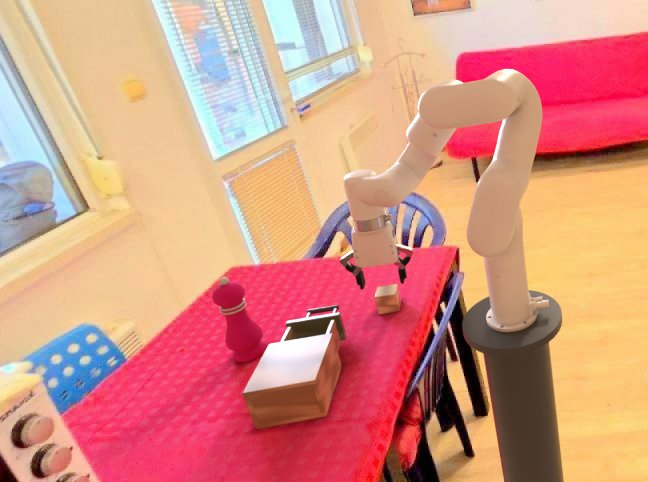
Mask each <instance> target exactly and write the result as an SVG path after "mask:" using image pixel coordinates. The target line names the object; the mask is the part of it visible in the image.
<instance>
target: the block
mask: <svg viewBox="0 0 648 482" xmlns="http://www.w3.org/2000/svg"><path fill="white" fill-rule="evenodd" d="M374 301H375V305H376V309H377V314H378V315H383V314H388V313H389V314H390V313H395V312H396V313H397V312H400V309H401V303H402V297H401V293H400V289H399V284H398V283H394V284H388V285H381V286H377V287H376V291H375V294H374Z"/></svg>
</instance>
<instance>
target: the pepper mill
mask: <svg viewBox="0 0 648 482" xmlns="http://www.w3.org/2000/svg"><path fill="white" fill-rule="evenodd" d="M218 283H219V284H218V285H217V286H216V287H215V288H214V289H213V290H212V295H211V297H212V301H213V303H214V304H215V305H217V306H218V309H219V311H220V313H221V315H223V316H224V318H225V321H226V330H225V336H224V337H225V339H224V341H225V345H226V347H227V349H228V350H230V351H232V355H233V358H234V361H235V362H238V363H248V362H250V361H253V360H255V359H257V358H259V357H261V355H263V354H264V352H265V351H266V345H265V342H264V341H263V340H262V339H263V335H264V333H263V330H262V327H261V325H259V324H258V323H257V322H256V321H255V320H254V319H253V318H252V317H250V315H249V314H248V310H247V308H246V307H247V302H246V298H244V297H245V295H246V291H245V288H244V286H243V284H241V283H240V282H238V281H234V280H230V279H229V278H228V277H226V276H223V277H221V278H219V281H218Z"/></svg>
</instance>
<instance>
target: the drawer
mask: <svg viewBox="0 0 648 482" xmlns="http://www.w3.org/2000/svg"><path fill="white" fill-rule="evenodd" d="M339 310H340V304H334V305H328V306H323V307H316V308H309V309H307V310H306V313H307V314H306V315H305V317H302V318H296V319H289V320H286V321H285V327H286V330H285V331H284V333H283V335H282V337H281V339H280V341H279V342H283V341H289V340H295V339H301V338H307V337H312V336H318V335H324V334H330V333H333V337H334V340H335V344H336V347H337V350H338V351H340V347H341V344H342V341H346V340H347V337H348V336H347V333H346V329H345V325H344V321H343V318H342V314H341V311H339ZM328 312H331V313H328ZM322 313H326V314H322ZM316 314H319V315H316ZM312 315H313V316H312Z"/></svg>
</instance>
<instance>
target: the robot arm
mask: <svg viewBox="0 0 648 482" xmlns="http://www.w3.org/2000/svg"><path fill="white" fill-rule="evenodd" d="M501 121H502V122H501ZM498 122H501V125H500V127H499V128H500V129H499V132H498V135H497V141H496V146H495V150H494V152H493V153H494V154H493V158H492V160H491V162H490V163H489V165H488V166H487V168H486V169H485V170H484V172H483V173H482V174H481V176H480V177H479V178H478V180H477V181H478V182H477V183H476V187H475V190H474V194H473V198H472V203H471V207H470V208H471V209H470V212H469V216H468V221H467V226H466V240H467V244H468V246H469V247H470V249H471V250H472V251H473V252H474V253H475V254H476V255H478V256H480V257H483V263H484V271H485V278H486V282H487V289H488V297H490V304H491V309H490V310H489V311H488V312H487V315H486V321H487V324H488V325H489V327H491V328H492V329H494V330H496V331H500V332H515V331H519V330H522V329H525V328H527V327H529V326H530V325H531V324H533V323H534V321H535V320H536V319H537V309H545V308H550V306H549V300H544V301H543V298H542V297H537V298H533V297H530V293H529V290H530V289H529V282H528V274H527V267H526V257H525V256H526V255H525V247H524V220H523V213H522V210H521V209H522V208H521V207H520V205H521V202H522V199H523V197H524V195H525V193H526V192H527V189H528V187H529V183H530V178H531V173H532V168H533V165H534V160H535V157H536V153H537V148H538V143H539V138H540V135H541V130H542V122H543V107H542V100H541V97H540V94H539V93H538V90H537V88H536V86H535V85H534V84H533V82H532V81H531V80H530V79H529V78H528V77H526V75H524V74H523V73H521V72H519V71H518V70H515V69H511V68H503V69H500V70H497V71H495V72H493V73H492V74H490V75H488V76H487V77H485V78H484V79H478V80H473V81H468V82H462V81H461V80H458V79H454V78H448V79H444V80H441V81H439V82H437V83H435V84H433V85H431V86H429V87H428V88H426V89H425V90H424V91H423V92H422V93H421V95H420V96H419V99H418V103H417V114H416V116H415V117H414V118H413V120H412V121H411V123H410V124H409V126H408V128H407V129H406V132H405V133H406V134H405V136H406V139H407V141H408V143H407V144H406V147H405V148H404V150H403V151H402V153H401V155H400V156H399V157H398V159H397V160H396V161H395V163H394V164H393V165H392V166H391V167H389V168H388V169H386V170H385V171H384V172H382V173H381V174H377V173H376V172H375V171H374V170H372V169H358V170H354V171H351V172H349V173H347V174H346V175H345V176H344V177H343V187H344V191H345V196H346V199H347V200H346V201H347V205H348V209H349V215H350V218H351V222H352V228H351V247H352V249H351V251H349V252H348V253H346V254H345V255H343V256H341V257H340V259H339V264H341V265H342V266H343V267H344V268H345V270H346V271H348V272H349V273H351V274H352V276H354V277H355V281H356V285H357V286H359V289H360V290H364V289H365V286H366V279H365V274H364V270H363V269H367V268H375V267H381V266H389V265H394V266H396V267H397V268H398V269H397V272H398V277H399V281H400V284H405V280H406V279H407V277H408V274H407V270H406V266H407V265H408V264H409V263H410V261H411V259H412V256H413V254H414V248H413V247H411V246H407V245H403V244H400V243H399V242H398V240H397V235H396V232H395V229H394V227H393V225H392V223H391V221H392V220H393V215H392V213H390V214H389V213H387V212H386V210H385V208H387V209H388V208H390V209H391V208H394V207H397V206H398V205H400V204H401V203H402V202H403V201H404V200H405V199H406V198H408V196H410V194H411V193H413V192H414V191H415V190H416V189H417V188H418V187H419V185H420V184H421V182H422V181H423V180H424V179H425V177H426V176H427V175H428V173H429V172H430V170H431V168H432V167H433V165H434V164H435V162H436V161H437V159H438V157H439V156H440V155H441V152H442V151H443V150H444V148H445V146H446V145H447V143H448V142H449V140H450V139H451V138H452V137H453V134H454V133H455V131H457V129H460V128H467V127H473V126H480V125H487V124H493V123H498ZM400 253H404V254H406V255H405V256H404V257H403V258H402V257H401V256H400ZM351 259H353V260H354V264H353V263H351V262H350V260H351Z"/></svg>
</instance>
